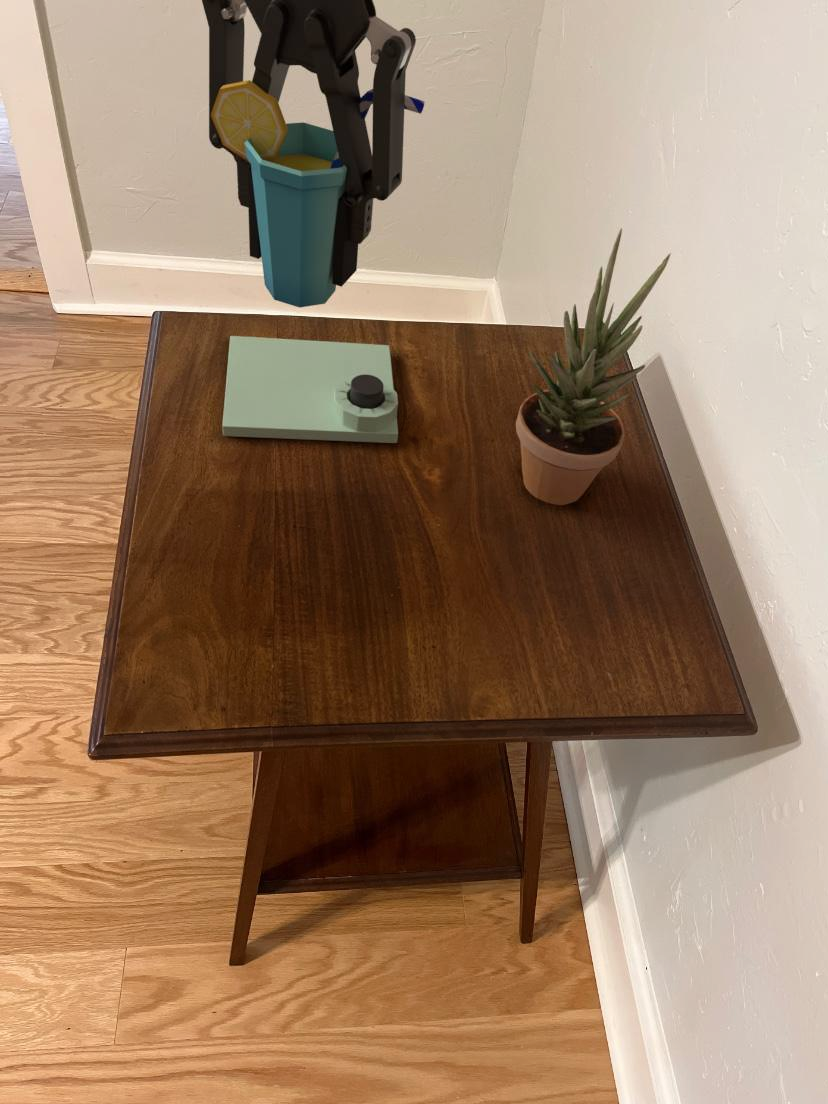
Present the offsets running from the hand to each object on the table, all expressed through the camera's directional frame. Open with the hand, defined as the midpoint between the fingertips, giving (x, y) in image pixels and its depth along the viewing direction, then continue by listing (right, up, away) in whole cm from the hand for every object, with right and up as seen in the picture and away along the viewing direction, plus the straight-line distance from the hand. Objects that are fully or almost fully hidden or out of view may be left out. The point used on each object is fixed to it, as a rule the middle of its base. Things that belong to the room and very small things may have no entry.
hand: (303, 262), depth 68 cm
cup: (0, -2, +1) cm, 2 cm away
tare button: (+3, -7, +17) cm, 18 cm away
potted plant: (+21, -14, +17) cm, 30 cm away
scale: (-2, -5, +20) cm, 21 cm away
